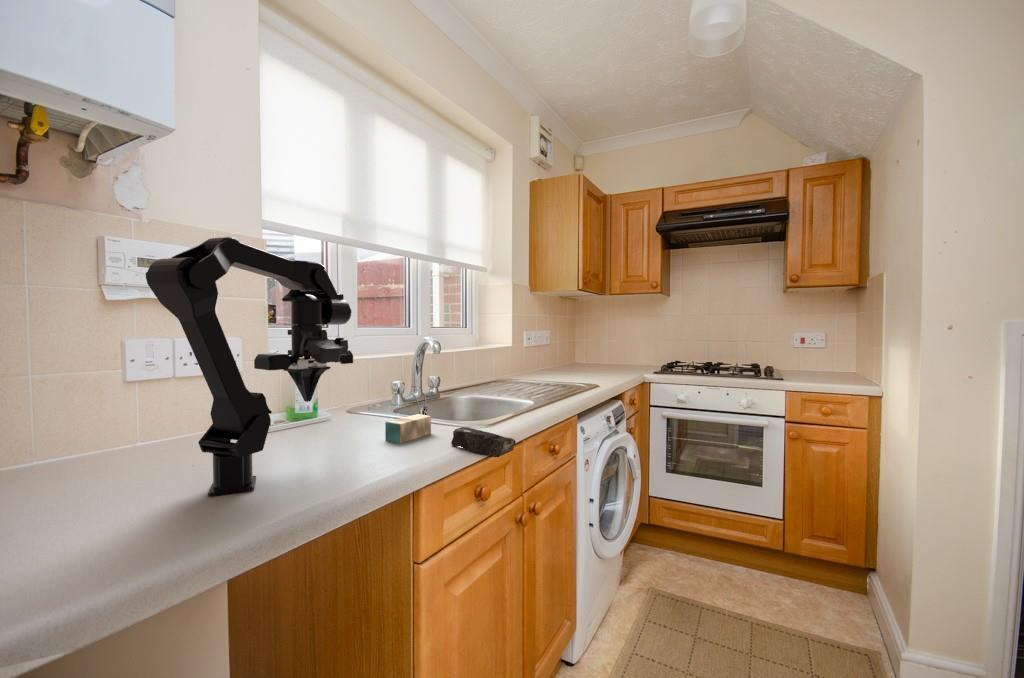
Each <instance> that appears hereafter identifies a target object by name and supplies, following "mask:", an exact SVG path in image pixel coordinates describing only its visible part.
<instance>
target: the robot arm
mask: <svg viewBox="0 0 1024 678" xmlns="http://www.w3.org/2000/svg"><path fill="white" fill-rule="evenodd" d="M231 267H234V268H237V269H239V270H240V269H241V270H242V271H247V272H249V273H253V274H257V275H261V276H264V277H268V278H271V279H272V280H273V279H274V280H275V281H277V282H278V283H279V284H280V285H281V286H282V287H284V288H286V289H288V290H289V292H288V293H287V294H285V295H284V296H283V297H282V298H281V301H282V302H289V303H290V307H291V309H290V312H291V313H290V319H291V329H287V335H288V336H291V349H288V350H287V353H277V352H271V353H269V352H268V353H259V354H257V355H256V356H255V358H254V360H253V361H254V362H253V365H254V367H253V368H254V369H256V370H265V371H278V370H279V371H281V370H282V371H284V372H287V373H288V374H289V375H290V377H291V379H292V380H293V382H294V384H295V386H296V387H297V389H298V392H299V393H300V394H301V397H302V399H303V401H304V402H307V403H308V402H311V401H312V399H313V396H314V394H315V391H316V388H317V385H318V383H319V380H320V378H321V376H322V375H323V374H324V373H325V372H326V371H328V370H331V366H329V365H328V363H334V364H335V363H339V364H341V365H347V364H354V355H353V353H352V351H351V350H349V340H348V338H345V337H336V338H335V339H330V338H329V337H328V332H327V330H326V329H323V325H324V326H325V325H327V326H328V325H329V326H330V325H333V326H334V325H338V326H339V325H345V324H347V323H348V322H349V321H350V319H351V316H352V309H351V306H350V304H349V303H348V301H346V300H345V299H344V294H343V293H338V292H337V290H336V288H335V287H334V284H333V282H332V280H331V278H330V276H329V274H328V272H327V270H326V267H325V266H324V264H322V263H320V262H316V261H307V260H295V259H288V258H287V257H286V258H285V257H283V256H281V255H277V254H274V253H271V252H269V251H266V250H263V249H260V248H257V247H254V246H251V245H249V244H246V243H243V242H240V241H239V240H237V239H235V238H234V237H229V236H226V237H212V238H208V239H207V240H205V241H203V242H202V243H200V244H198V245H196V246H193V247H192V248H189V249H187V250H185V251H182V252H179V253H176V254H175V255H173V256H172V257H170V258H159V259H157V260H155V261H153V262H152V263H151V264H150V265H149V267H148V269H147V271H146V272H145V279H146V283H147V286H148V287H149V288H150V290H151V291H152V293H153V295H154V296H155V297H156V299H157V300H158V302H159V303H160V304H161V305H162V307H164V308H165V309H167V311H169V312H170V313H171V314H172V315H173V316H174V317H175V318H177V320H178V321H179V324H180V326H181V327H182V330H183V332H184V335H185V337H186V339H187V342H188V344H189V346H190V348H191V350H192V352H193V355H194V357H195V360H196V362H197V364H198V366H199V368H200V369H199V370H200V372H201V373H202V375H203V377H204V379H205V382H206V384H207V386H208V389H209V390H210V393H211V396H212V404H211V410H210V418H211V421H212V423H211V425H210V427H208V429H207V430H206V431H205V433H204V434H203V435H202V437H201V438H200V439H199V441H198V446H199V447H200V450H201V453H208V454H212V484H211V485H210V488H209V490H208V492H207V496H209V497H213V496H219V495H227V494H233V493H234V494H235V493H240V492H241V493H242V492H250V491H254V490H255V487H256V482H257V475H253V455H254V454H256V453H259V452H263V451H264V448H265V443H266V442H267V441H266V440H267V436H268V433H269V430H270V426H271V424H272V420H271V416H270V414H272V413H273V411H272V410H271V409H270V408H269V406H268V404H267V398H266V396H265V394H264V393H262V392H261V393H260V392H253V391H252V392H251V391H250V390H249V389H247V387H246V385H245V382H244V380H243V377H242V375H241V372H240V370H239V368H238V367H239V366H238V365H237V362H236V359H235V357H234V355H233V353H232V350H231V348H230V345H229V343H228V340H227V337H226V334H225V332H224V330H223V328H222V325H221V322H220V320H219V317H218V316H217V313H216V306H217V301H218V296H219V290H218V286H217V285H218V284H217V281H218V280H219V279H221V278H223V277H224V276H225V275H226V274H228V272H229V270H230V268H231ZM327 365H328V366H327ZM232 440H234V441H236V442H232Z"/></svg>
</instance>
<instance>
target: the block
mask: <svg viewBox="0 0 1024 678" xmlns="http://www.w3.org/2000/svg"><path fill="white" fill-rule="evenodd" d="M384 428H385V431H384V432H385V434H384V436H385V437H384V438H385V439H384V440H385V441H387V442H391V443H396V444H402V443H403V442H407V441H411V440H414V439H418V438H420V437H424V436H428V435H431V434H432V416H431V415H426V414H420V413H416V414H413V415H409V416H405V417H401V418H396V419H393V420H389V421H388V420H387V421H385V427H384Z"/></svg>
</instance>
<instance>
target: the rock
mask: <svg viewBox="0 0 1024 678" xmlns="http://www.w3.org/2000/svg"><path fill="white" fill-rule="evenodd" d="M452 435H453V436H452V439H451V442H450V444H451V445H452V446H455V445H456V446H461V447H463V448H465V449H464V450H468V451H469V452H472V453H473V454H477V455H483V456H488V457H493V458H500V457H502V456H505V455H506V454H508V453H510V452H513V451H514V447H515V446H516V440H515V439H514V438H511V437H506V436H502V435H500V434H496V433H493V432H488V431H484V430H481V429H477V428H472V427H465V426H462V427H459V428H455V429H454V430H453V431H452ZM456 446H455V447H456Z"/></svg>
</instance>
